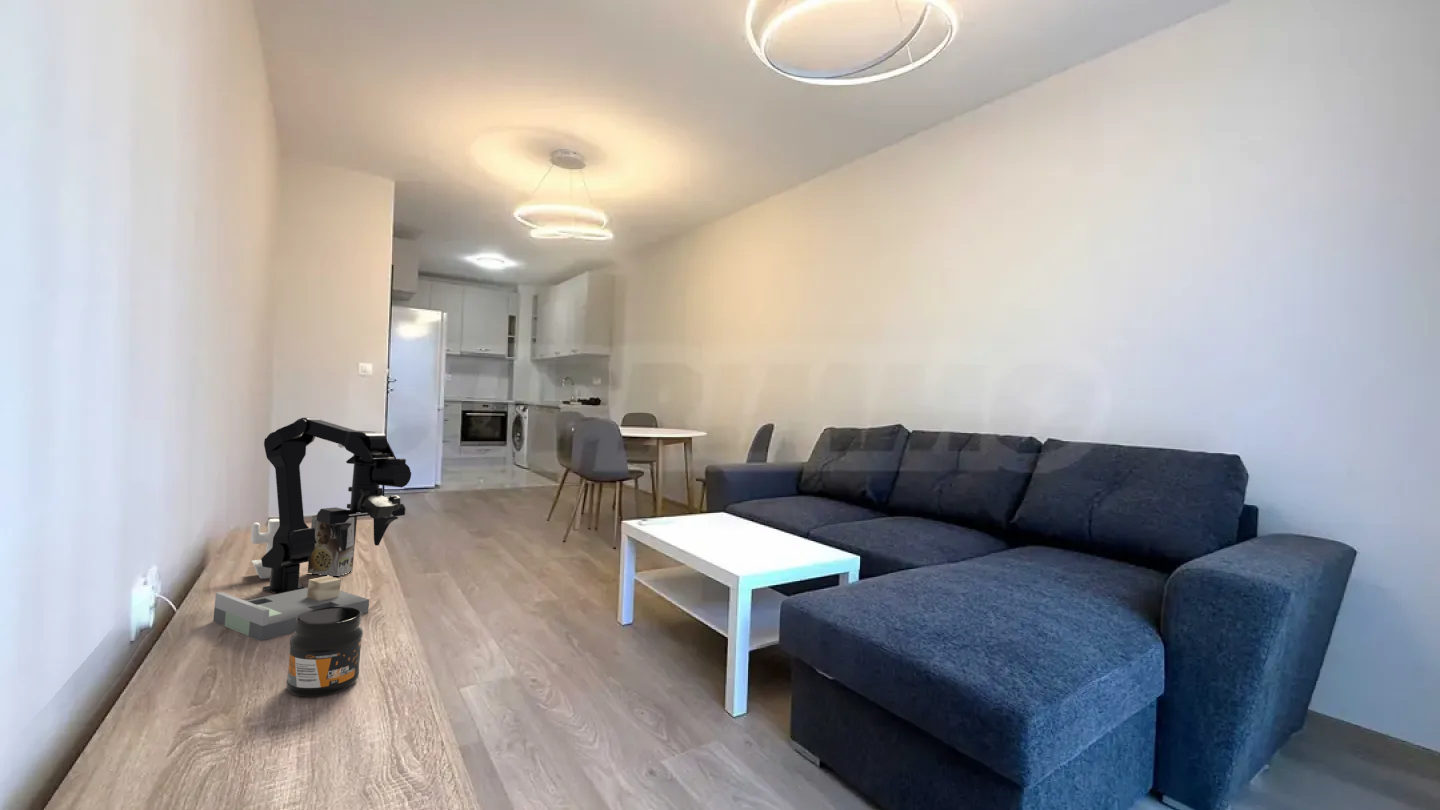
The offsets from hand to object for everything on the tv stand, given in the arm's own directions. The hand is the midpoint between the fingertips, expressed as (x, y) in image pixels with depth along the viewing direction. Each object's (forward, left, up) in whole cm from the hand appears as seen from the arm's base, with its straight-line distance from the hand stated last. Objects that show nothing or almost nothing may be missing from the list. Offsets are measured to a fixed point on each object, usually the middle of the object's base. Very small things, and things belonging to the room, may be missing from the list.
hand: (360, 547), depth 144 cm
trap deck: (0, -14, -13) cm, 19 cm away
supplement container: (+36, -29, -13) cm, 48 cm away
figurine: (-35, -1, -13) cm, 38 cm away
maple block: (0, -8, -10) cm, 13 cm away
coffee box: (-27, +10, -13) cm, 32 cm away
